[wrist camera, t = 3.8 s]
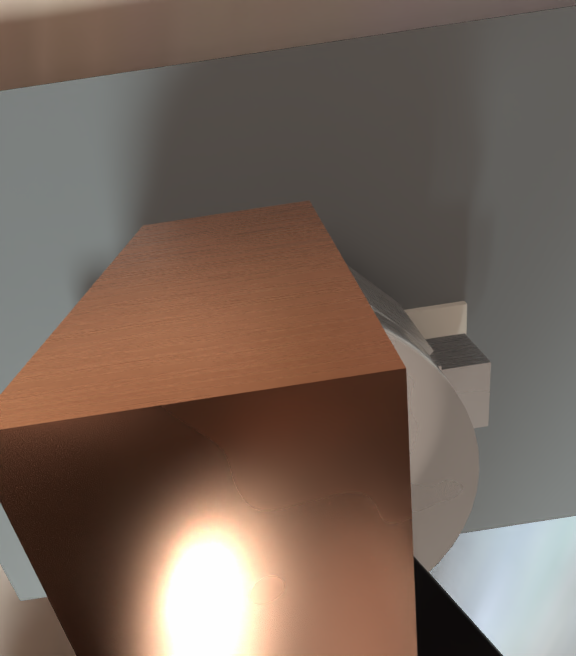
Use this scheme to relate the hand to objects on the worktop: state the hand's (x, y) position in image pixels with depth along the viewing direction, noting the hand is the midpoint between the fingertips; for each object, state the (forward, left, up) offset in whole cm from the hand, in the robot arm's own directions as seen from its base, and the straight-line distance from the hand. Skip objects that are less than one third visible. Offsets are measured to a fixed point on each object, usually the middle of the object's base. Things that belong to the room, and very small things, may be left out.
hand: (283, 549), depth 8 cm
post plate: (0, 0, -7) cm, 7 cm away
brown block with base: (0, 0, -5) cm, 5 cm away
